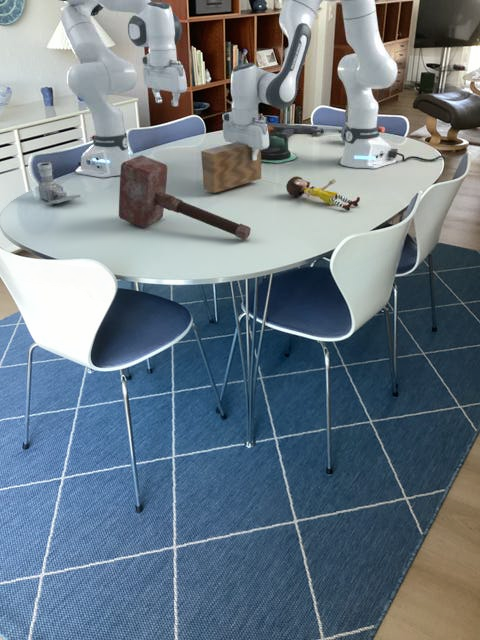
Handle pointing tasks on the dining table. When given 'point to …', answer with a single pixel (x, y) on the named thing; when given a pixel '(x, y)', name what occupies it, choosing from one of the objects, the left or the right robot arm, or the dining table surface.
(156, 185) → the sledgehammer
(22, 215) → the dining table surface
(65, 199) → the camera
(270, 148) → the green dome on base
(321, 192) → the figurine
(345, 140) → the toy
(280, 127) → the submachine gun
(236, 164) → the box
